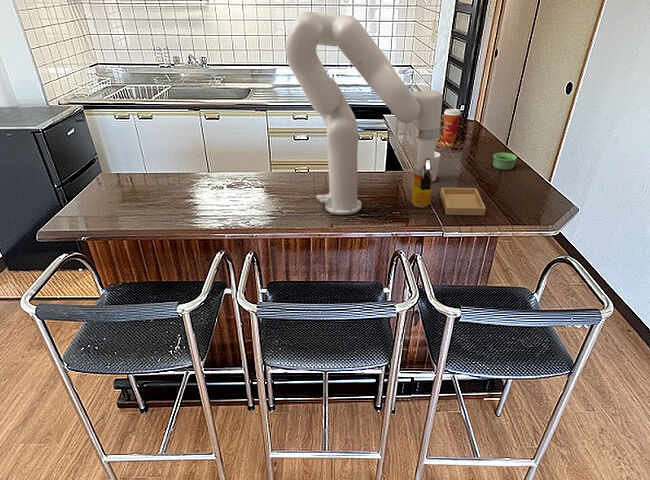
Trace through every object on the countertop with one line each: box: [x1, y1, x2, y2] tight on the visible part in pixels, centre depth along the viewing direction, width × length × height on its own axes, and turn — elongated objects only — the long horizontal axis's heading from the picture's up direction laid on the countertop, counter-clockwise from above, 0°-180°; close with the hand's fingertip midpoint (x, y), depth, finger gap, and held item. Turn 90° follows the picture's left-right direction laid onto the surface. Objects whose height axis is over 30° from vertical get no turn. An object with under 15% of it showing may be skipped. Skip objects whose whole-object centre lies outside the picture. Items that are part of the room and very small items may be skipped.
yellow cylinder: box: [411, 161, 433, 209], centre depth 147 cm, size 6×6×15 cm
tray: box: [439, 187, 487, 216], centre depth 150 cm, size 12×16×3 cm
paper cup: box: [442, 108, 462, 143], centre depth 206 cm, size 8×8×14 cm
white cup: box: [432, 151, 441, 183], centre depth 167 cm, size 8×8×10 cm
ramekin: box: [492, 152, 518, 171], centre depth 178 cm, size 9×9×4 cm
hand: (424, 183), depth 147 cm, fingers open, 9 cm apart
